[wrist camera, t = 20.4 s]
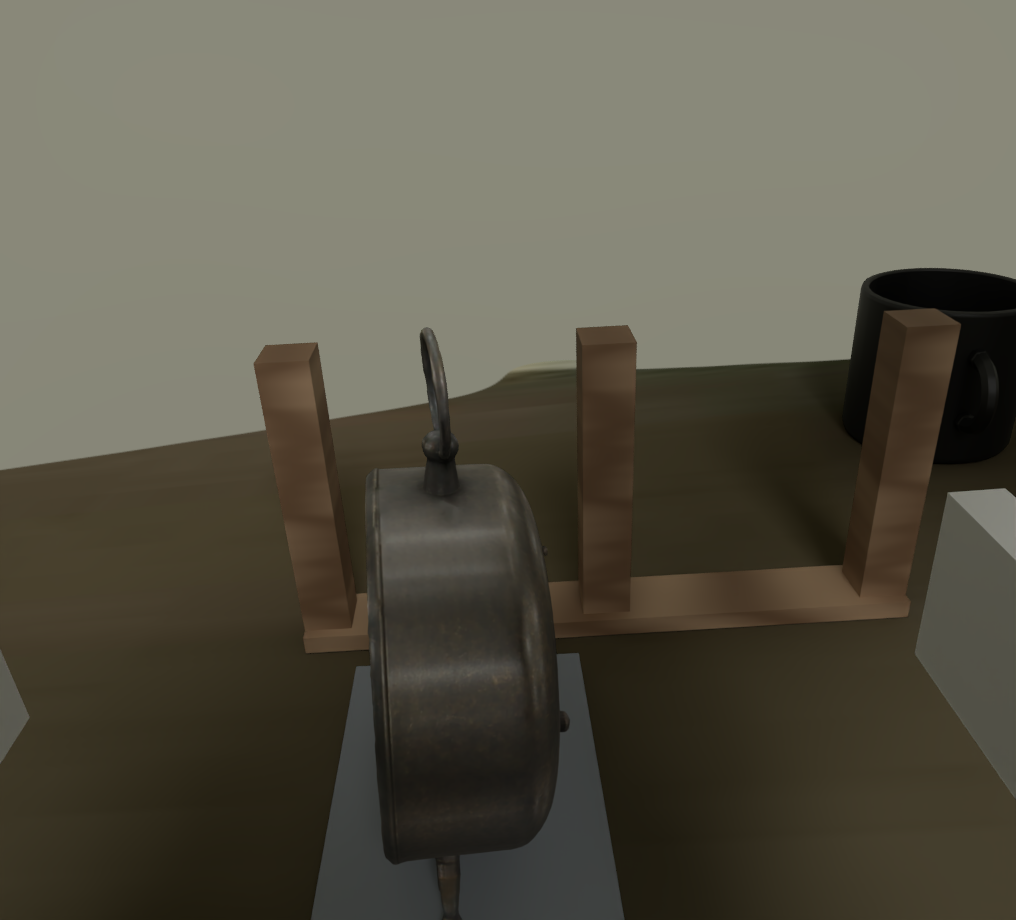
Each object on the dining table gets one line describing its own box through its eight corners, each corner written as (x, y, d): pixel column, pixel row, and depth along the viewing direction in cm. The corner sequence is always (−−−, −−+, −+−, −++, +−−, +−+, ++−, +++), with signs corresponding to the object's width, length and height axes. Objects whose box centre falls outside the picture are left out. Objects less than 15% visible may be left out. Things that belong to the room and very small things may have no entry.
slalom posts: (878, 576, 39) (928, 304, 34) (907, 616, 37) (968, 328, 31) (317, 610, 39) (268, 340, 33) (305, 653, 36) (250, 368, 30)
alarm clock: (388, 700, 32) (329, 282, 25) (528, 682, 33) (509, 267, 26) (395, 984, 23) (300, 440, 15) (592, 951, 23) (592, 410, 16)
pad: (578, 668, 35) (578, 653, 34) (646, 1068, 21) (646, 1049, 21) (358, 681, 35) (356, 666, 34) (288, 1092, 21) (282, 1074, 21)
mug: (883, 489, 47) (912, 331, 42) (823, 402, 57) (841, 269, 53) (1062, 487, 46) (1109, 326, 42) (968, 399, 57) (998, 264, 52)
